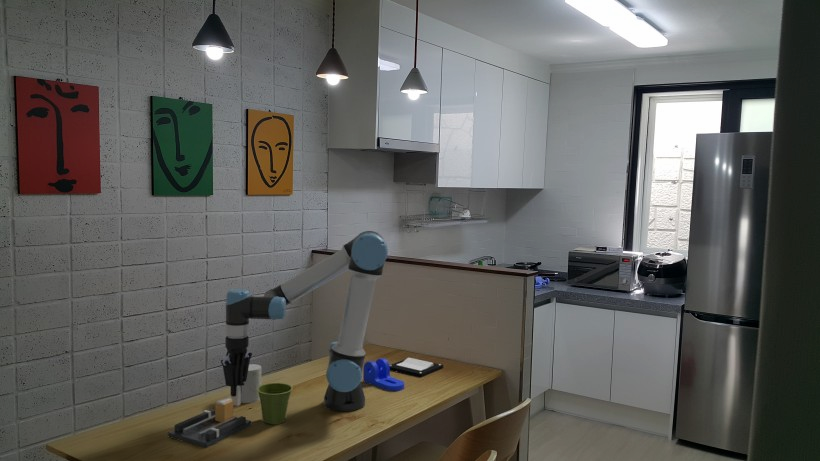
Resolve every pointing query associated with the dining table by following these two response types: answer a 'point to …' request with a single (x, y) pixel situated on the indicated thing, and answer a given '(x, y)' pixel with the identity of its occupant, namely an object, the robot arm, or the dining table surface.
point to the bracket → (381, 375)
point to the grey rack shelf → (214, 431)
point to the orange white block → (223, 409)
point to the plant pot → (274, 401)
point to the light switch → (415, 367)
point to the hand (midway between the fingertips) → (235, 404)
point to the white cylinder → (251, 385)
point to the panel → (205, 431)
